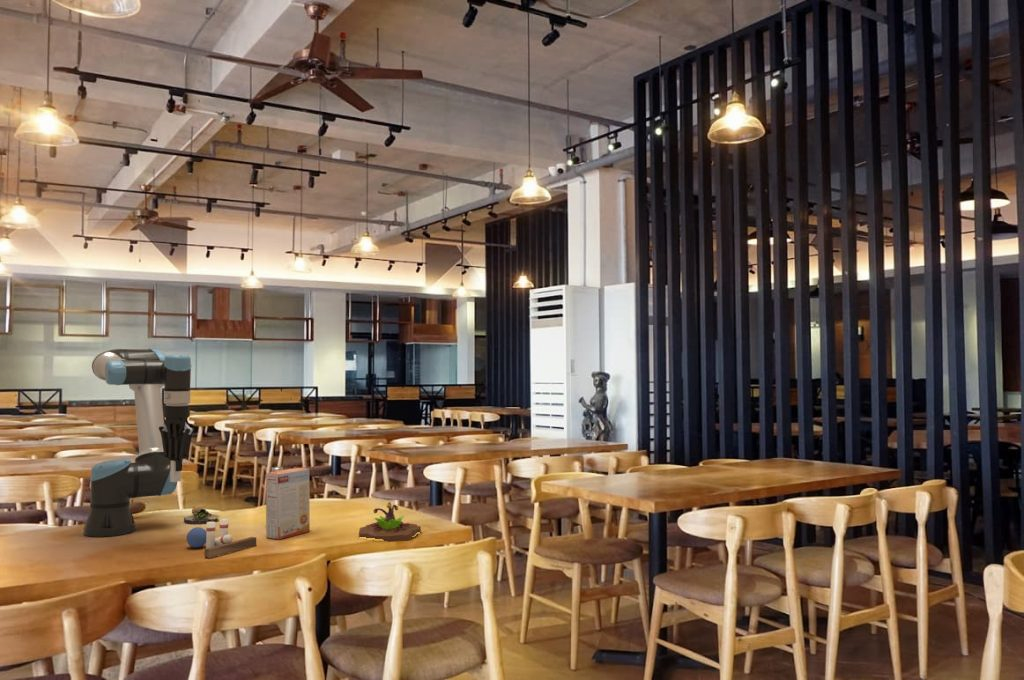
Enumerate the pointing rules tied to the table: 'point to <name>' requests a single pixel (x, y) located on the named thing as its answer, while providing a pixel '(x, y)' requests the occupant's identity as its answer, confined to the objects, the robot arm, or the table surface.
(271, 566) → the table surface
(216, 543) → the front pin
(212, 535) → the back pin right
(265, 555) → the table surface
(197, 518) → the dish garden
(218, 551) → the back rail
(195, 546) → the ball
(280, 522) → the cracker box
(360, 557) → the table surface
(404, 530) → the plant
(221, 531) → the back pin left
